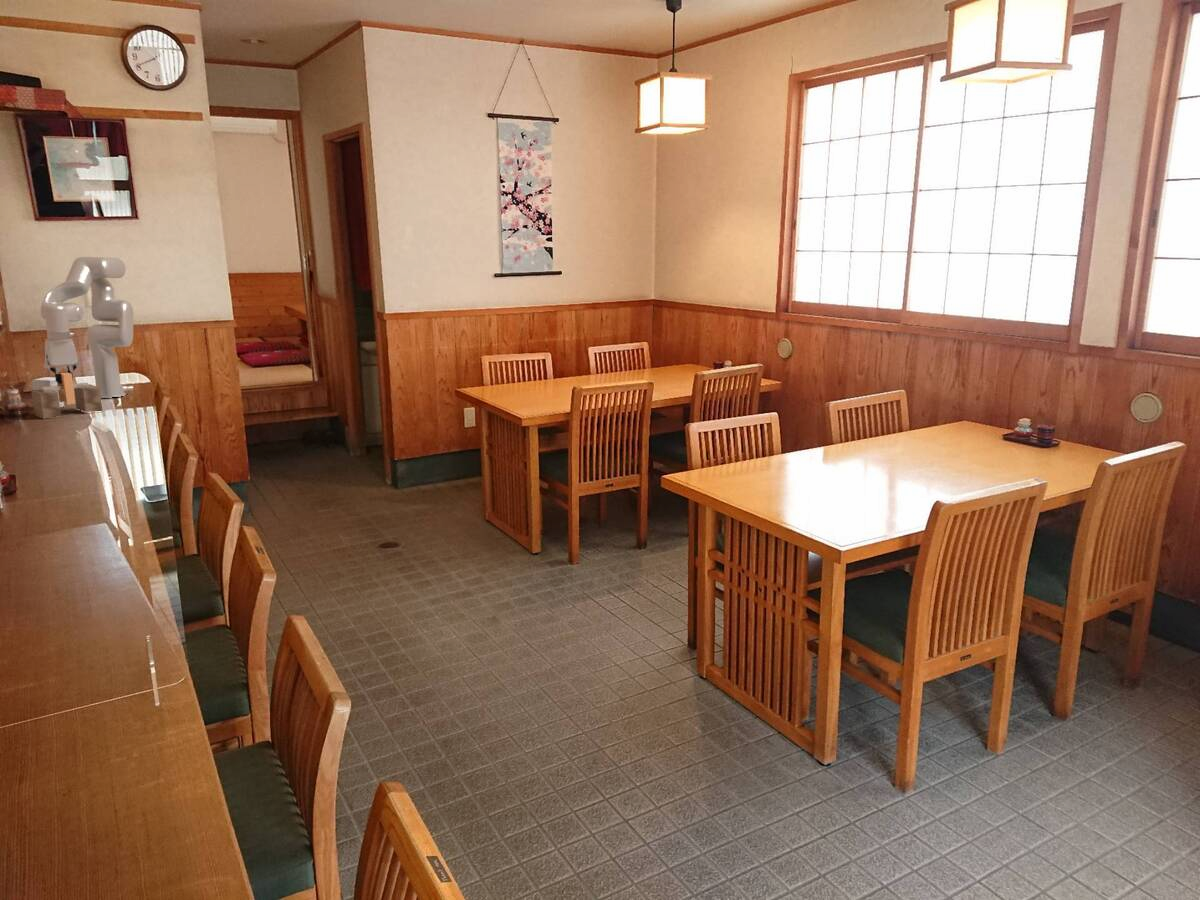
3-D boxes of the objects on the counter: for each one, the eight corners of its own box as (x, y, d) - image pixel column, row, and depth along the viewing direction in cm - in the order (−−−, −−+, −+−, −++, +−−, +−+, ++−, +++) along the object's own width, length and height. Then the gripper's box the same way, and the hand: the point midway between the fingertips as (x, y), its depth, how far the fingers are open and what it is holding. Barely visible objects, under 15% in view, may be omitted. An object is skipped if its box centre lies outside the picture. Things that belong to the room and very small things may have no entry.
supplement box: (53, 411, 338) (49, 380, 335) (35, 410, 338) (31, 379, 335) (65, 407, 345) (61, 377, 342) (47, 406, 345) (43, 376, 342)
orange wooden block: (67, 400, 337) (64, 371, 334) (75, 403, 332) (71, 373, 329) (59, 401, 335) (55, 372, 332) (67, 404, 330) (63, 374, 327)
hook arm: (86, 386, 338) (86, 382, 338) (88, 386, 337) (88, 383, 337) (42, 390, 326) (41, 387, 326) (43, 391, 325) (43, 387, 325)
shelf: (92, 408, 345) (89, 384, 343) (102, 411, 339) (99, 387, 337) (34, 415, 330) (31, 390, 327) (43, 419, 323) (40, 393, 321)
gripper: (78, 334, 335) (83, 379, 340) (31, 337, 323) (38, 384, 327) (85, 336, 331) (91, 381, 335) (38, 339, 318) (45, 386, 323)
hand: (64, 382), depth 331 cm, fingers closed on orange wooden block, 3 cm apart
